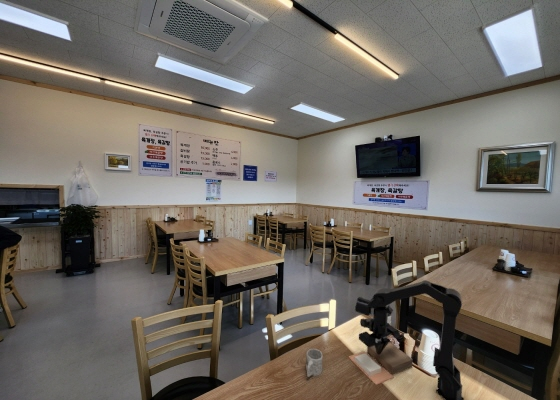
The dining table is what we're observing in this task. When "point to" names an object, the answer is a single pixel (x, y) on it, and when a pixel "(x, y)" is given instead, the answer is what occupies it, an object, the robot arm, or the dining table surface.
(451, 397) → the robot arm
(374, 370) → the grey flat block
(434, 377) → the dining table surface
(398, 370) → the brown rectangular block
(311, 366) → the mug
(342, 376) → the dining table surface
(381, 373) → the mat
